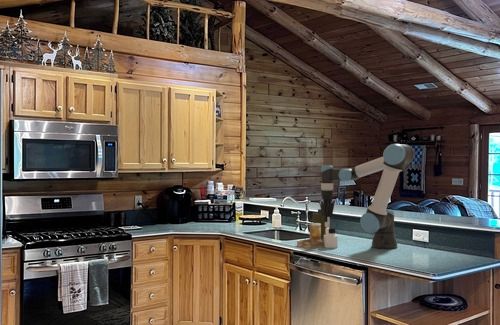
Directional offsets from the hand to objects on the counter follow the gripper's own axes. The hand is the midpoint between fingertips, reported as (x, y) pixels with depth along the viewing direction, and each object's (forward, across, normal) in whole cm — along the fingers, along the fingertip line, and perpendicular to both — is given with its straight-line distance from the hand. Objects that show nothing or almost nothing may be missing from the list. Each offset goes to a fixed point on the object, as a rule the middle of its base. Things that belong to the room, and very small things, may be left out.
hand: (327, 227), depth 308 cm
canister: (+11, -15, -21) cm, 28 cm away
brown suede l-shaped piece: (+11, +7, -4) cm, 14 cm away
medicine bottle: (+11, +6, +8) cm, 15 cm away
